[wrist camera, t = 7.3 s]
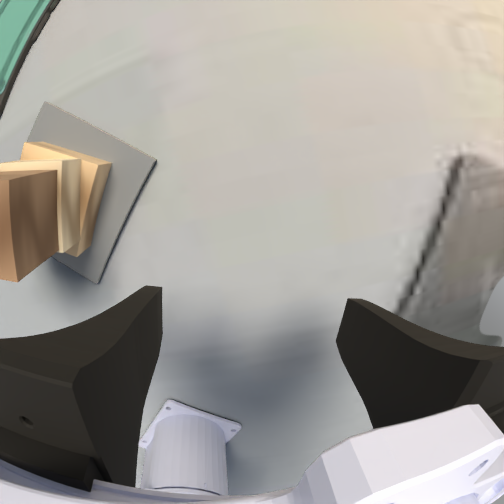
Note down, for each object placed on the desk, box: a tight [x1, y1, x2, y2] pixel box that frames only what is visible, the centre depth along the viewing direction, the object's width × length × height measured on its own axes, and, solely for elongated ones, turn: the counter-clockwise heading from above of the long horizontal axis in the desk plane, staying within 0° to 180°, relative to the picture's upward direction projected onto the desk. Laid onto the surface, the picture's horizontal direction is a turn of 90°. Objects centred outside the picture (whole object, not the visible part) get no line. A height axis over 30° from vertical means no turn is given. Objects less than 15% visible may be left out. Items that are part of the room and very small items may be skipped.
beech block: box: [0, 159, 81, 253], centre depth 15 cm, size 5×5×2 cm
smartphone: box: [0, 0, 59, 116], centre depth 13 cm, size 7×1×15 cm
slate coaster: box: [20, 102, 157, 284], centre depth 18 cm, size 10×10×1 cm
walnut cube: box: [0, 170, 59, 282], centre depth 11 cm, size 4×4×4 cm
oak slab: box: [20, 142, 112, 257], centre depth 17 cm, size 6×6×2 cm
